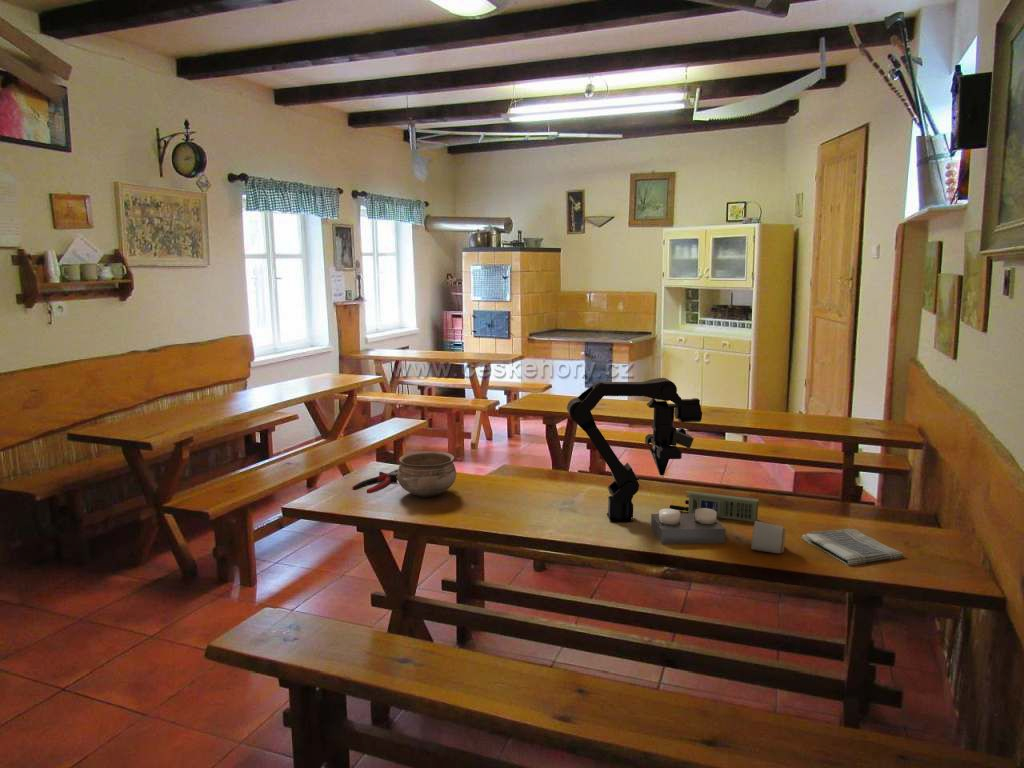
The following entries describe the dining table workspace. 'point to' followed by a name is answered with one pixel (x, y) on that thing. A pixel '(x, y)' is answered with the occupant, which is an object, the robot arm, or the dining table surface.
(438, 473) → the cooking pot
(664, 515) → the knob
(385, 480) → the pliers
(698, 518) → the knob
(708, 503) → the handheld radio
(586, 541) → the dining table surface
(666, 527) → the mount
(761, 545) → the block
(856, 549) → the dish towel
